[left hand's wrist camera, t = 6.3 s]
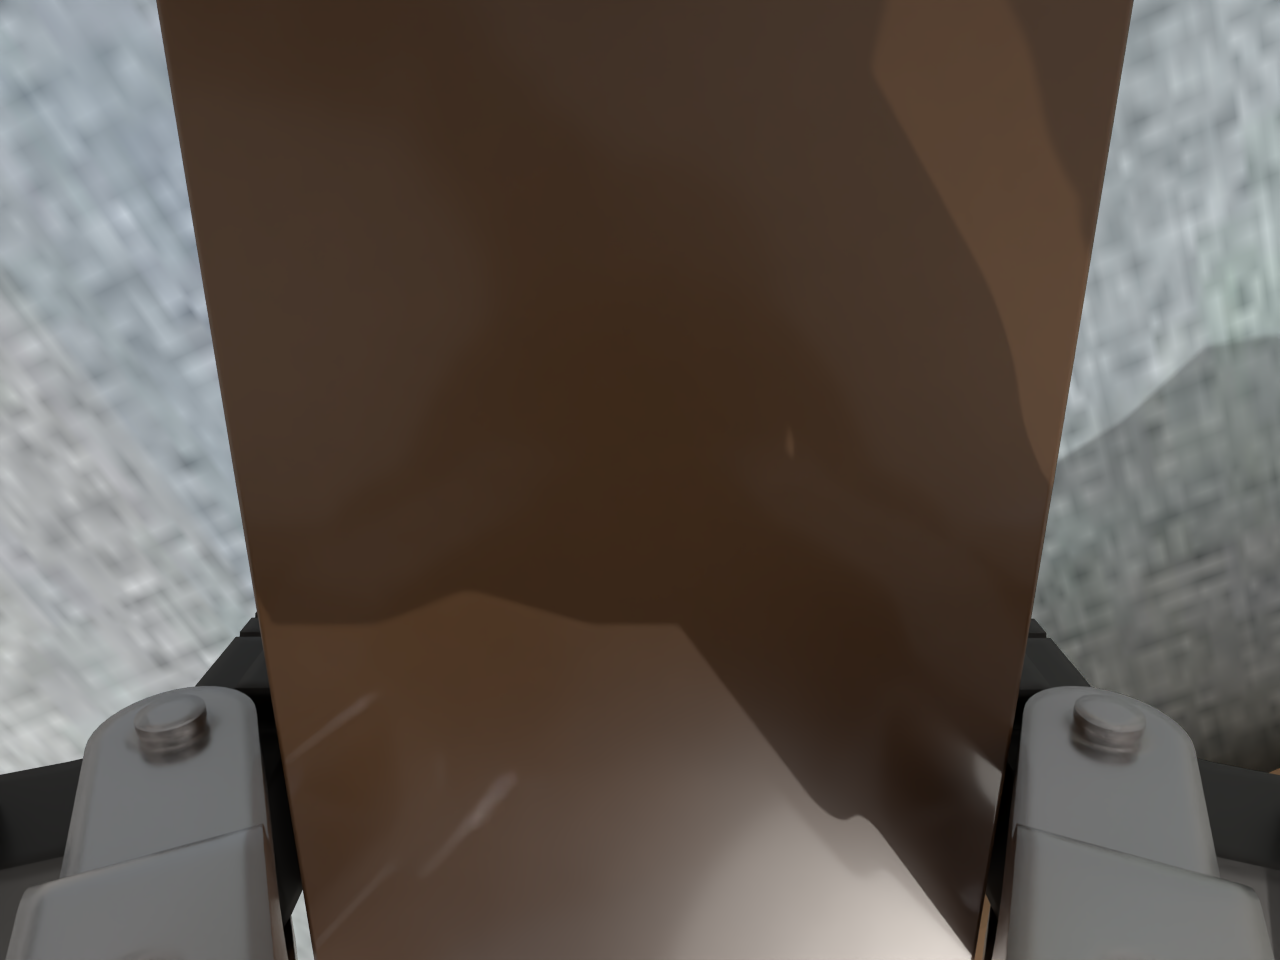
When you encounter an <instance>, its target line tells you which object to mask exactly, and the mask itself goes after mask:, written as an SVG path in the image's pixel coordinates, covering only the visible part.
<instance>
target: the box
mask: <svg viewBox="0 0 1280 960" xmlns="http://www.w3.org/2000/svg"><path fill="white" fill-rule="evenodd" d="M1133 1H1134V0H156V2H157V8H158V14H159V20H160V26H161V32H162V38H163V44H164V50H165V56H166V62H167V68H168V75H169V81H170V87H171V93H172V99H173V105H174V111H175V117H176V123H177V129H178V135H179V141H180V147H181V153H182V159H183V166H184V172H185V178H186V184H187V190H188V196H189V202H190V208H191V214H192V220H193V226H194V232H195V238H196V244H197V250H198V257H199V263H200V269H201V275H202V281H203V287H204V293H205V299H206V305H207V311H208V317H209V323H210V329H211V335H212V341H213V347H214V354H215V360H216V366H217V372H218V378H219V384H220V390H221V396H222V402H223V408H224V414H225V420H226V426H227V432H228V438H229V445H230V451H231V457H232V463H233V469H234V475H235V481H236V487H237V493H238V499H239V505H240V511H241V517H242V523H243V529H244V536H245V542H246V548H247V554H248V560H249V566H250V572H251V578H252V584H253V590H254V596H255V602H256V608H257V614H258V620H259V627H260V633H261V639H262V645H263V651H264V657H265V663H266V669H267V675H268V681H269V687H270V693H271V699H272V705H273V711H274V717H275V724H276V730H277V736H278V742H279V748H280V754H281V760H282V766H283V772H284V778H285V784H286V790H287V796H288V802H289V808H290V815H291V821H292V827H293V833H294V839H295V845H296V851H297V857H298V863H299V869H300V875H301V881H302V887H303V893H304V899H305V906H306V912H307V918H308V924H309V930H310V936H311V942H312V948H313V954H314V960H974V959H975V953H976V947H977V941H978V935H979V928H980V922H981V916H982V910H983V904H984V898H985V892H986V886H987V880H988V874H989V868H990V862H991V856H992V850H993V844H994V838H995V832H996V826H997V820H998V814H999V808H1000V802H1001V796H1002V790H1003V784H1004V778H1005V772H1006V766H1007V760H1008V754H1009V748H1010V742H1011V736H1012V730H1013V724H1014V718H1015V712H1016V706H1017V700H1018V694H1019V688H1020V682H1021V676H1022V670H1023V664H1024V658H1025V652H1026V645H1027V639H1028V633H1029V627H1030V621H1031V615H1032V609H1033V603H1034V597H1035V591H1036V585H1037V579H1038V573H1039V567H1040V561H1041V555H1042V549H1043V543H1044V537H1045V531H1046V525H1047V519H1048V513H1049V507H1050V501H1051V495H1052V489H1053V483H1054V477H1055V471H1056V465H1057V459H1058V453H1059V447H1060V441H1061V435H1062V429H1063V423H1064V417H1065V411H1066V405H1067V399H1068V393H1069V387H1070V381H1071V375H1072V369H1073V363H1074V356H1075V350H1076V344H1077V338H1078V332H1079V326H1080V320H1081V314H1082V308H1083V302H1084V296H1085V290H1086V284H1087V278H1088V272H1089V266H1090V260H1091V254H1092V248H1093V242H1094V236H1095V230H1096V224H1097V218H1098V212H1099V206H1100V200H1101V194H1102V188H1103V182H1104V176H1105V170H1106V164H1107V158H1108V152H1109V146H1110V140H1111V134H1112V128H1113V122H1114V116H1115V110H1116V104H1117V98H1118V92H1119V86H1120V80H1121V73H1122V67H1123V61H1124V55H1125V49H1126V43H1127V37H1128V31H1129V25H1130V19H1131V13H1132V7H1133Z"/></svg>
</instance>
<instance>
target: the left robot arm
mask: <svg viewBox="0 0 1280 960" xmlns="http://www.w3.org/2000/svg"><path fill="white" fill-rule="evenodd" d="M302 890H303V887H302V881H301V875H300V869H299V863H298V857H297V851H296V845H295V839H294V833H293V827H292V821H291V815H290V808H289V802H288V796H287V790H286V784H285V778H284V772H283V766H282V760H281V754H280V748H279V742H278V736H277V730H276V724H275V717H274V711H273V705H272V699H271V693H270V687H269V681H268V675H267V669H266V663H265V657H264V651H263V645H262V639H261V633H260V627H259V620H258V614H257V612H256V613H255V618H251V619H250V620H249V622H248V623H247V624H246V625H245V626H244V628H243V629H242V630H241V631H240V637H235V639H234V640H233V641H232V642H231V643H230V645H229V646H228V647H227V648H226V649H225V651H224V652H223V653H222V654H221V656H220V657H219V658H218V659H217V660H216V662H215V663H214V664H213V665H212V666H211V668H210V669H209V670H208V671H207V672H206V674H205V675H204V676H203V677H202V679H201V680H200V681H199V682H198V683H197V685H196V686H195V687H187V688H182V689H176V690H172V691H168V692H163V693H160V694H157V695H154V696H151V697H148V698H145V699H143V700H141V701H138V702H136V703H134V704H132V705H130V706H128V707H126V708H124V709H122V710H120V711H119V712H117V713H116V714H114V715H112V716H111V717H110V718H108V719H107V720H106V721H105V722H103V723H102V724H101V725H100V726H99V727H98V728H97V729H96V730H95V731H94V732H93V734H92V735H91V737H90V738H89V740H88V742H87V744H86V747H85V751H84V756H83V759H79V760H75V761H70V762H65V763H60V764H55V765H49V766H44V767H39V768H34V769H28V770H23V771H18V772H13V773H8V774H2V775H0V960H298V957H297V949H296V940H295V934H294V928H293V922H292V916H291V914H292V912H293V910H294V908H295V905H296V903H297V901H298V899H299V897H300V894H301V892H302ZM985 894H986V896H987V898H988V900H989V903H990V910H989V916H988V922H987V928H986V934H985V940H984V949H983V957H982V960H1280V775H1276V774H1271V773H1266V772H1261V771H1255V770H1250V769H1245V768H1240V767H1234V766H1229V765H1224V764H1219V763H1214V762H1210V761H1206V760H1202V759H1198V758H1197V756H1196V751H1195V747H1194V744H1193V742H1192V740H1191V738H1190V737H1189V735H1188V734H1187V732H1186V731H1185V730H1184V729H1183V728H1182V727H1181V726H1180V725H1179V724H1178V723H1177V722H1175V721H1174V720H1173V719H1172V718H1170V717H1169V716H1168V715H1166V714H1164V713H1163V712H1161V711H1160V710H1158V709H1156V708H1154V707H1152V706H1150V705H1148V704H1146V703H1144V702H1142V701H1139V700H1137V699H1135V698H1132V697H1129V696H1126V695H1123V694H1120V693H1117V692H1112V691H1108V690H1104V689H1098V688H1093V687H1091V686H1090V685H1089V684H1088V683H1087V681H1086V680H1085V679H1084V678H1083V677H1082V675H1081V674H1080V673H1079V672H1078V671H1077V669H1076V668H1075V667H1074V666H1073V665H1072V663H1071V662H1070V661H1069V660H1068V659H1067V657H1066V656H1065V655H1064V654H1063V653H1062V651H1061V650H1060V649H1059V648H1058V647H1057V645H1056V644H1055V643H1054V642H1053V641H1052V640H1051V638H1046V632H1045V631H1044V630H1043V629H1042V628H1041V626H1040V625H1039V624H1038V623H1037V622H1036V620H1035V619H1031V621H1030V627H1029V633H1028V639H1027V645H1026V652H1025V658H1024V664H1023V670H1022V676H1021V682H1020V688H1019V694H1018V700H1017V706H1016V712H1015V718H1014V724H1013V730H1012V736H1011V742H1010V748H1009V754H1008V760H1007V766H1006V772H1005V778H1004V784H1003V790H1002V796H1001V802H1000V808H999V814H998V820H997V826H996V832H995V838H994V844H993V850H992V856H991V862H990V868H989V874H988V880H987V886H986V892H985Z"/></svg>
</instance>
